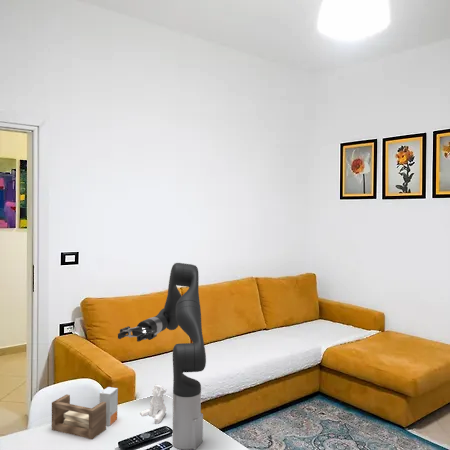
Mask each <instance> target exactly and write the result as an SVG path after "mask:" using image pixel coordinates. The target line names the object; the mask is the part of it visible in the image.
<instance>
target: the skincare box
mask: <svg viewBox="0 0 450 450" xmlns="http://www.w3.org/2000/svg"><path fill="white" fill-rule="evenodd" d="M118 393H119V388H118V387H111V386H107V387H106V388H104V389H103V390H102V391H100V392H99V403H101V402H106V427H111V426H112V425H113V424H114V423H115V422H116V421H117V420H118V406H119V404H118V399H119V398H118V396H119V394H118Z"/></svg>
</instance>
